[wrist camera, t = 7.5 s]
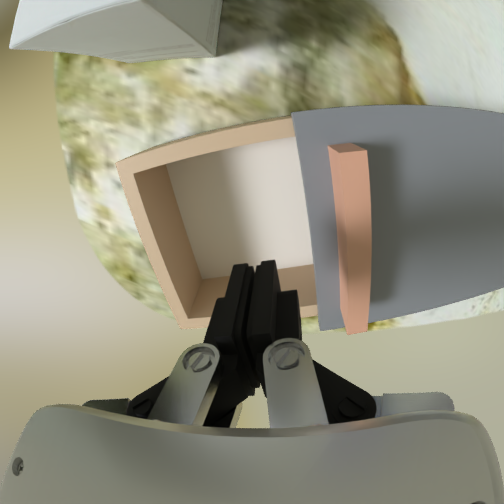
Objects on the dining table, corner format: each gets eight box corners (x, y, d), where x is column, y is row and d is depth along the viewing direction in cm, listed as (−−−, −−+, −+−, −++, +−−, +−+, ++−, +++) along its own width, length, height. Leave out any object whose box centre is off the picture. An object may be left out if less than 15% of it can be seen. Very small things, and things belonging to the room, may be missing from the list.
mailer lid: (519, 116, 10) (552, 125, 7) (500, 279, 16) (521, 303, 13) (290, 112, 12) (296, 113, 10) (318, 321, 19) (324, 358, 16)
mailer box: (360, 108, 17) (392, 109, 12) (370, 259, 23) (392, 302, 18) (153, 147, 20) (115, 162, 14) (197, 284, 26) (180, 329, 20)
